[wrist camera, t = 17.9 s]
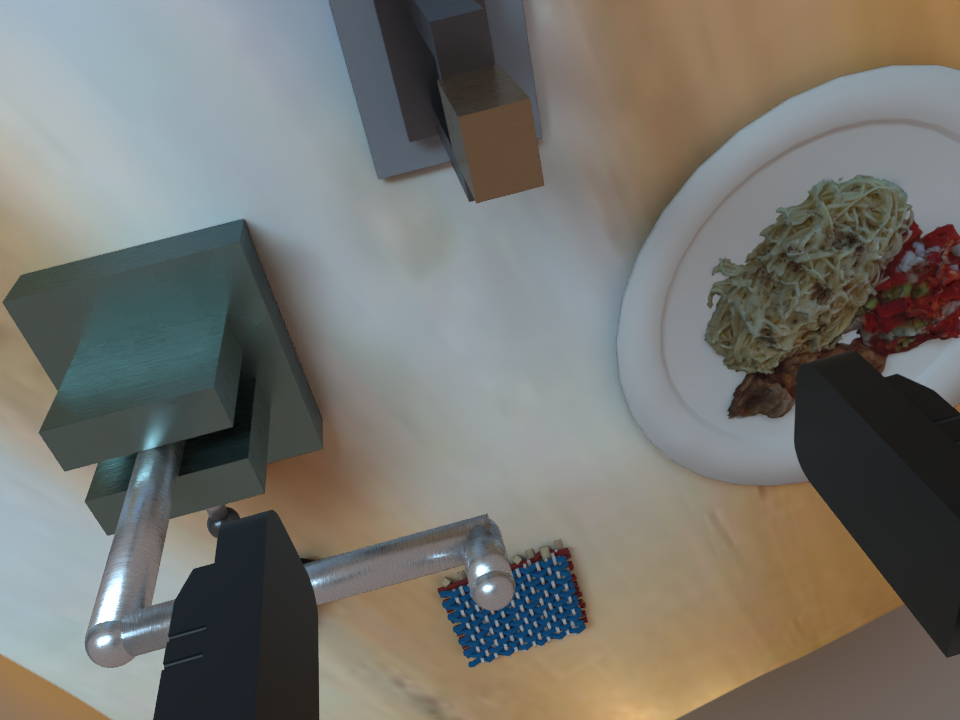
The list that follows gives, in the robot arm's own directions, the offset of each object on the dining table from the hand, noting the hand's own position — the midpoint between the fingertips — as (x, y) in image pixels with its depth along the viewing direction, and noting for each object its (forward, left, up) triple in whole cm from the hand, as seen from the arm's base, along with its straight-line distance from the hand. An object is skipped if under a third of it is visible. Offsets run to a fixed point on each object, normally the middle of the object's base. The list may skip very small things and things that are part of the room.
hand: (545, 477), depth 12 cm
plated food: (+22, +25, -33) cm, 46 cm away
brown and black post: (+1, +3, -32) cm, 32 cm away
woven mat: (+43, 0, -33) cm, 54 cm away
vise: (+15, -11, -32) cm, 37 cm away
